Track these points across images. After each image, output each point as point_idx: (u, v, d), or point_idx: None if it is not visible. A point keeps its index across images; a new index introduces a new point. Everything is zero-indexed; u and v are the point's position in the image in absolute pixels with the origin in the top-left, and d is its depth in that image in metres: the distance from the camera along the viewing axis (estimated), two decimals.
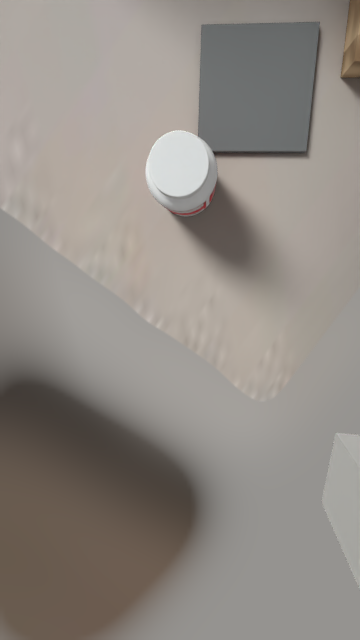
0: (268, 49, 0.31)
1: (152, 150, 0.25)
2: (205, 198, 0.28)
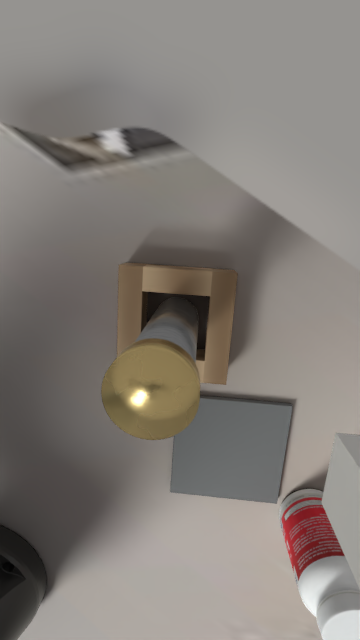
0: (195, 439, 0.32)
1: None
2: None
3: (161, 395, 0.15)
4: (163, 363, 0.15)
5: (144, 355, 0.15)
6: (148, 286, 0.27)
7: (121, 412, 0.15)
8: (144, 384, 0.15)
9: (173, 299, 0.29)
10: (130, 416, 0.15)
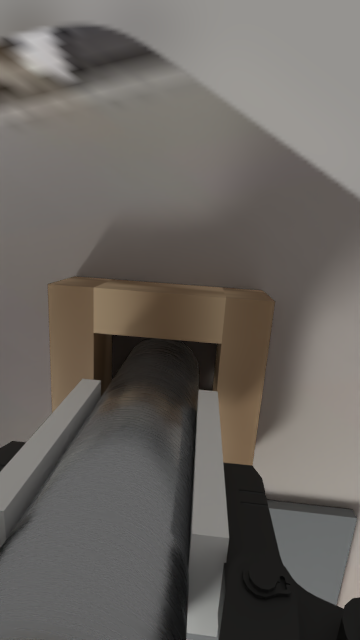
0: None
1: None
2: None
3: None
4: None
5: None
6: (105, 323, 0.14)
7: None
8: None
9: (154, 342, 0.16)
10: None
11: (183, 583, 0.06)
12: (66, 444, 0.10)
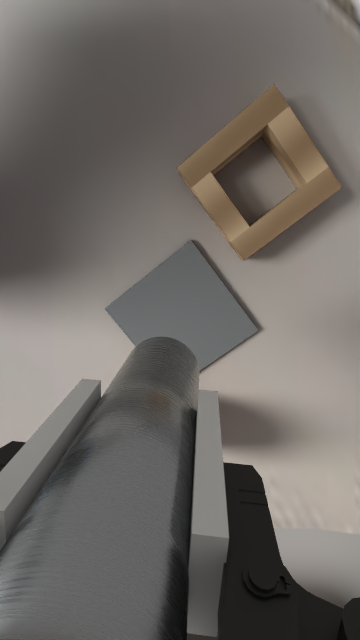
0: (167, 286, 0.32)
1: None
2: None
3: None
4: None
5: None
6: (276, 125, 0.26)
7: None
8: None
9: (155, 343, 0.16)
10: None
11: (183, 582, 0.06)
12: (66, 444, 0.10)
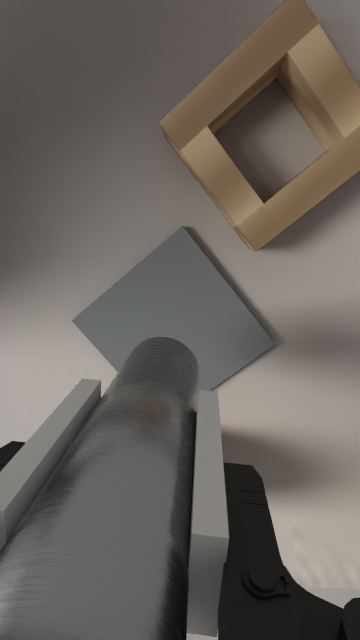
0: (153, 289, 0.24)
1: None
2: None
3: None
4: None
5: None
6: (300, 54, 0.18)
7: None
8: None
9: (155, 343, 0.16)
10: None
11: (183, 582, 0.06)
12: (66, 444, 0.10)
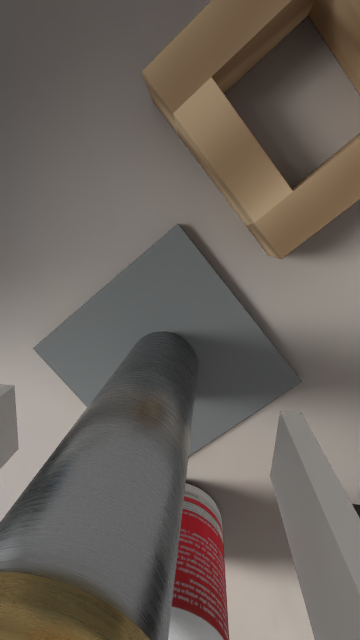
0: (138, 309, 0.18)
1: None
2: None
3: None
4: None
5: None
6: None
7: None
8: None
9: (155, 337, 0.17)
10: None
11: (172, 536, 0.07)
12: None
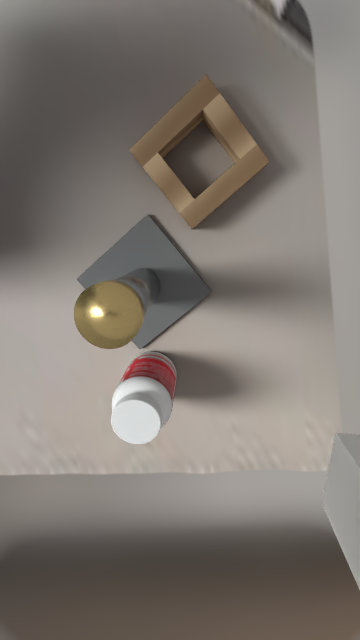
0: (130, 257, 0.37)
1: (113, 427, 0.30)
2: (170, 409, 0.33)
3: (115, 316, 0.22)
4: (115, 292, 0.22)
5: (102, 287, 0.22)
6: (210, 110, 0.30)
7: (88, 329, 0.22)
8: (103, 308, 0.22)
9: (138, 269, 0.36)
10: (94, 332, 0.22)
11: (144, 298, 0.26)
12: None
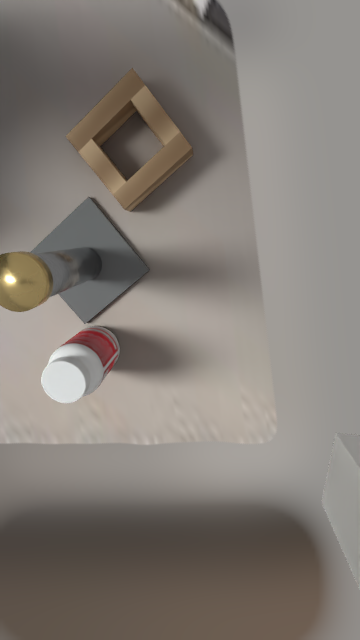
0: (73, 236, 0.40)
1: (43, 386, 0.33)
2: (101, 374, 0.35)
3: (21, 282, 0.25)
4: (20, 261, 0.25)
5: (8, 257, 0.25)
6: (137, 100, 0.33)
7: None
8: (10, 275, 0.25)
9: None
10: (5, 296, 0.26)
11: (60, 269, 0.29)
12: None
